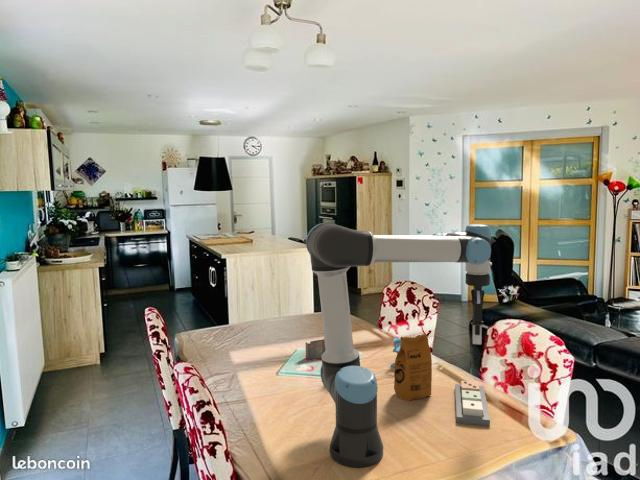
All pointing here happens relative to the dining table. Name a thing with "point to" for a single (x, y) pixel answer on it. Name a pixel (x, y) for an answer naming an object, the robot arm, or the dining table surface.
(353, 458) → the robot arm
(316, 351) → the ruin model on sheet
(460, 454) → the dining table surface
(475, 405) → the tile one
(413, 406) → the dining table surface
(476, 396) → the tile two
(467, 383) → the tile three
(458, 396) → the tile tray
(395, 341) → the chair
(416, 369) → the coffee package
